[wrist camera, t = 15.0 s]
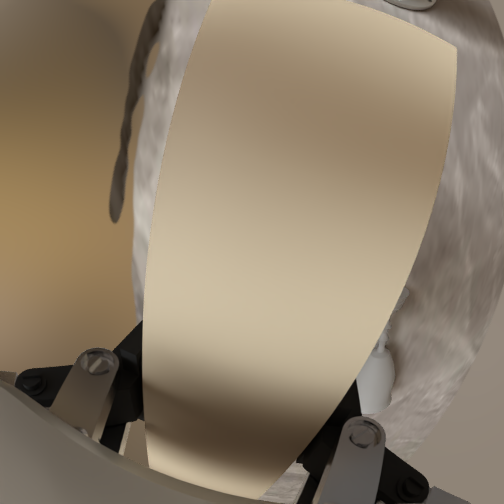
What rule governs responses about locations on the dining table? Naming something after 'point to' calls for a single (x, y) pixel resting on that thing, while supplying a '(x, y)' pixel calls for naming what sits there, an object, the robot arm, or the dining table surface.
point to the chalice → (378, 372)
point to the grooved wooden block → (283, 227)
